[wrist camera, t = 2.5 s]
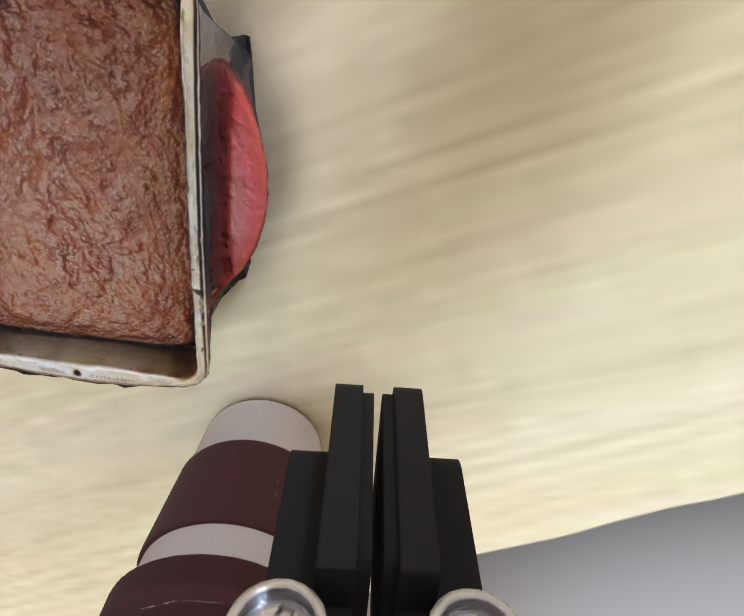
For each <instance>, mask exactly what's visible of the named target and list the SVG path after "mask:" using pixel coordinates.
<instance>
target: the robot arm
mask: <svg viewBox="0 0 744 616" xmlns="http://www.w3.org/2000/svg"><path fill="white" fill-rule="evenodd" d="M373 429H374V393H363V385H349V384H336V388H335V397H334V406H333V415H332V424H331V433H330V442H329V451H328V452H322V451H305V450H291V452H290V456H289V460H288V465H287V470H286V476H285V481H284V486H283V491H282V496H281V502H280V507H279V512H278V517H277V523H276V528H275V533H274V538H273V543H272V549H271V554H270V559H269V564H268V569H267V575H266V580H265V581H262V582H260V583H258V584H256V585H254V586H252V587H250V588H249V589H247V590H246V591H245V592H244V593H243V594H241V595H240V596H239V597H238V598H237V599H236V600H235V602H234V603H233V605H232V607H231V608H230V610H229V612H228V614H227V615H226V616H367V607H368V597H369V588H370V578H371V603H370V616H518V615H517V614H516V613H515V612H514V611H513V610H512V609H511V607H510V606H509V605H508V604H507V603H505V602H504V601H502V600H501V599H499V598H498V597H496V596H495V595H493V594H491V593H487V592H485V591H482V586H481V580H480V574H479V568H478V562H477V556H476V550H475V544H474V539H473V533H472V527H471V521H470V515H469V509H468V504H467V498H466V492H465V486H464V480H463V474H462V469H461V465H460V462H459V460H457V459H440V458H429V451H428V441H427V432H426V422H425V413H424V404H423V394H422V390H421V389H413V388H397V387H394V388H393V394H392V395H390V394H383V395H382V402H381V412H380V423H379V433H378V443H377V453H376V463H375V474H374V484H373Z"/></svg>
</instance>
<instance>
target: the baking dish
mask: <svg viewBox="0 0 744 616" xmlns="http://www.w3.org/2000/svg"><path fill="white" fill-rule="evenodd" d="M267 180H268V170H267V164H266V159H265V153H264V148H263V143H262V138H261V133H260V128H259V123H258V119H257V114H256V109H255V95H254V80H253V66H252V52H251V43H250V37H249V36H247V35H241V36H235V37H231V36H229V35H228V34H227V33H226V32H225V31H224V30H223V29H221V28H220V27H219V26H218V25H217V24H216V23H215V22H214V21H213V19H212V17H211V15H210V13H209V11H208V9H207V7H206V5H205V3H204V1H203V0H0V368H5V369H10V370H15V371H18V372H20V373H22V374H27V375H45V376H51V377H66V378H69V379H72V380H78V381H84V382H91V383H97V384H116V385H119V386H122V387H124V388H127V387H135V386H157V387H188V386H194V385H197V384H199V383H200V382H201V381H202V380H203V379H204V378H206V377H207V375H208V374H209V364H210V338H211V317H212V315H213V313H214V311H215V309H216V307H217V305H218V303H219V301H220V299H221V298H222V297H223V296H224V295H225V294H226V293H227V292H228V291H229V290H230V289H231V288H232V287H233V286H234V285H235V284H236V283H237V282H238V281H239V280H241V279H243V278H245V277H246V276H247V272H248V269H249V266H250V262H251V256H252V254H253V253H254V251H255V249H256V247H257V244H258V241H259V238H260V235H261V232H262V229H263V225H264V221H265V216H266V208H267V201H268V195H269V193H268V186H267Z"/></svg>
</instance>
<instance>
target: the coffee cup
mask: <svg viewBox="0 0 744 616" xmlns="http://www.w3.org/2000/svg"><path fill="white" fill-rule="evenodd" d="M291 450H305V451H321V445H320V440H319V436H318V434H317V432H316V430H315V428H314V426H313V425H312V424H311V422H310V421H309V420H308V419H307V418H306V417H305V416H303V415H302V414H301V413H299V412H298V411H296V410H295V409H293V408H291V407H289V406H286V405H284V404H281V403H278V402H274V401H269V400H249V401H243V402H239V403H236V404H233V405H231V406H229V407H227V408H225V409H224V410H222V411H221V412H220V413H219V414H218V415H217V416H216V417H215V418H214V419H213V420H212V421H211V423H210V424H209V426H208V428H207V430H206V432H205V434H204V436H203V438H202V440H201V442H200V444H199V446H198V448H197V450H196V452H195V454H194V456H193V457H192V458H191V459H190V460H189V461H188V462H187V463H186V464H185V466H184V468H183V469H182V471H181V473H180V475H179V477H178V479H177V481H176V483H175V485H174V487H173V488H172V490H171V492H170V494H169V496H168V498H167V500H166V502H165V504H164V506H163V508H162V510H161V512H160V514H159V516H158V518H157V520H156V521H155V523H154V525H153V527H152V529H151V531H150V533H149V535H148V537H147V539H146V541H145V543H144V545H143V547H142V549H141V551H140V554H139V557H138V561H137V568H135V569H133V570H131V571H130V572H128V573H127V574H126V575H125V576H123V577H122V578H121V579H120V580H119V581H118V582H117V583H116V584H115V586H114V587H113V589H112V590H111V592H110V594H109V596H108V598H107V600H106V602H105V604H104V607H103V609H102V611H101V613H100V616H226V615H227V614H228V612H229V610H230V608H231V607H232V605H233V603H234V602H235V600H236V599H237V598H238V597H239V596H240V595H241V594H243V593H244V592H245V591H246V590H247V589H249V588H250V587H252V586H254V585H256V584H258V583H260V582H262V581H265V580H266V575H267V569H268V564H269V559H270V554H271V549H272V543H273V538H274V533H275V528H276V523H277V517H278V512H279V507H280V502H281V496H282V491H283V486H284V481H285V476H286V470H287V465H288V460H289V456H290V452H291Z"/></svg>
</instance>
